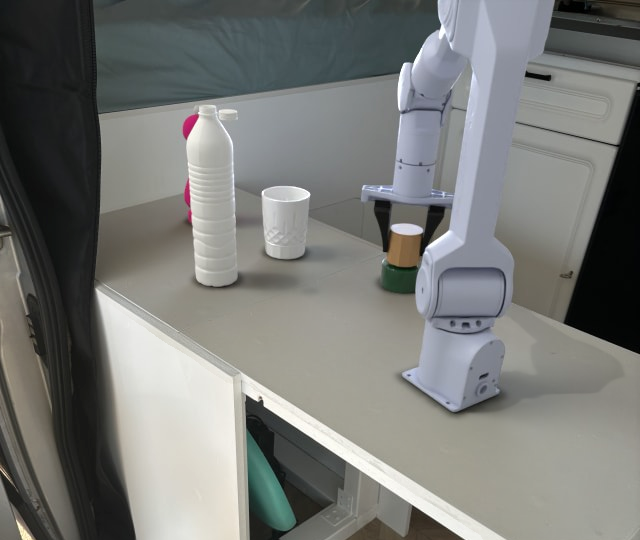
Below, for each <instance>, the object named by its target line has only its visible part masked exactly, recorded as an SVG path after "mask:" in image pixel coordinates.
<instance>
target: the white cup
mask: <svg viewBox="0 0 640 540" xmlns="http://www.w3.org/2000/svg"><path fill="white" fill-rule="evenodd" d="M310 199H311V193H310V192H309V191H308V190H306V189H304V188H302V187H296V186H290V185H289V186H288V185H279V186H271V187H267V188H265V189H262V191H261V208H262V224H263V237H264V248H265V249H264V250H265V253H266V255H268V256H269V257H271V258H275V259H279V260H294V259H298V258H300V257H303V256H304V254H305V253H306V239H307V235H308V223H309V212H310V211H309V210H310Z"/></svg>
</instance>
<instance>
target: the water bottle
mask: <svg viewBox="0 0 640 540" xmlns="http://www.w3.org/2000/svg"><path fill="white" fill-rule="evenodd" d="M199 105H200V106H199V111H200V112H198V114H199V118H198V120H197V122H196V124H195V125H194V127H193V129H192V131H191V133H190V134H189V136H188V139H187V140H186V144H185V145H186V147H185V150H186V158H187V167H188V168H187V171H188V177H189V184H190V196H191V198H190V201H191V212H192V224H191V226H192V237H193V241H192V242H193V250H194V254H193V255H194V262H195V263H194V269H195V270H194V271H195V279H196V281H197V282H198V283H199V284H202V285H203V286H206V287H211V286H212V287H214V288H215V287H216V288H217V287H218V288H219V287H220V288H221V287H224V286H229V285H232V284H234V283H235V282H236V281H237V280H238V277H239V276H238V273H239V272H238V263H237V261H238V253H237V238H236V235H237V228H236V224H237V221H236V219H237V218H236V214H235V213H236V199H235V173H234V172H235V170H234V144H233V140H232V138H231V136H230V135H229V133H228V131H227V130H226V128H225V127H224V125H223V124H222V122H221V121H224V122H233V121H238V119H239V117H238V116H239V115H238V113H239V112H238V110H236V109H230V108H223V109H219V110H217V106H216V105H214V104H199ZM220 120H221V121H220Z"/></svg>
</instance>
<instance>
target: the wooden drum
mask: <svg viewBox="0 0 640 540" xmlns="http://www.w3.org/2000/svg"><path fill="white" fill-rule="evenodd" d="M424 232H425V231H424V229H423V227H421V226H419V225H416V224H412V223H407V222H405V223H403V222H402V223H394V224H392V225H390V231H389V239H388V251H387V253H386V257H385V258H386V260H387V261H388V262H389V263H390V264H392V265H395V266H398V267H412V266H416V265H418V263H419V261H420V262H421V256H420V252H421V246H422V241H423V236H424Z"/></svg>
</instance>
